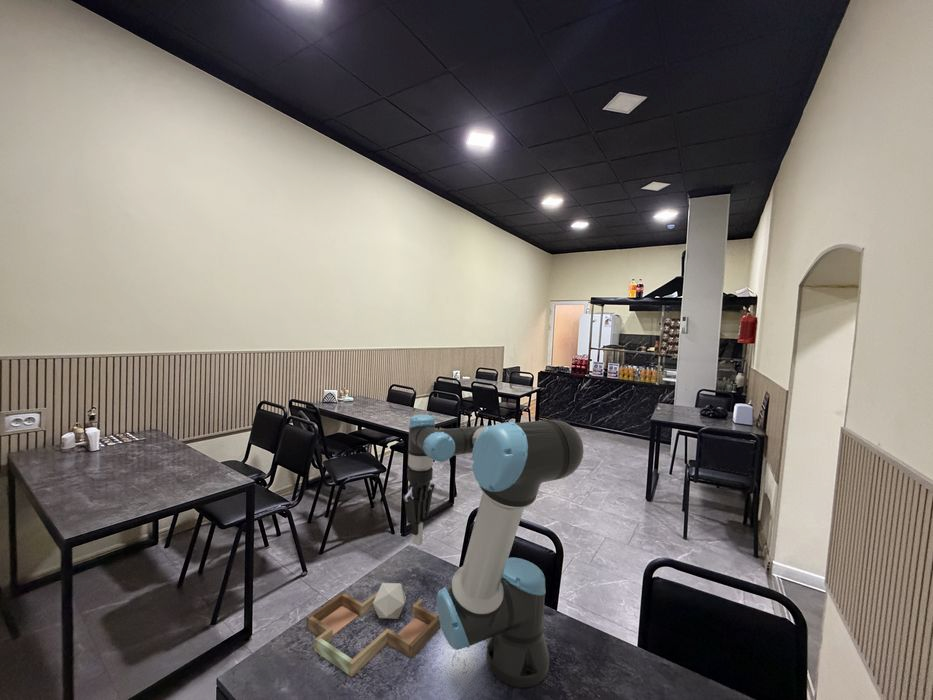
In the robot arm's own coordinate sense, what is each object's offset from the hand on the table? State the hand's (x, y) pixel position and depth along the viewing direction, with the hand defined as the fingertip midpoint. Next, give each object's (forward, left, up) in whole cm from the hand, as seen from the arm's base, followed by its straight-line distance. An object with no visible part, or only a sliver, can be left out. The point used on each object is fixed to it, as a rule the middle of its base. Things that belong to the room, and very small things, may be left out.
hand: (417, 543), depth 117 cm
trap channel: (0, +18, -15) cm, 23 cm away
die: (0, +12, -15) cm, 19 cm away
